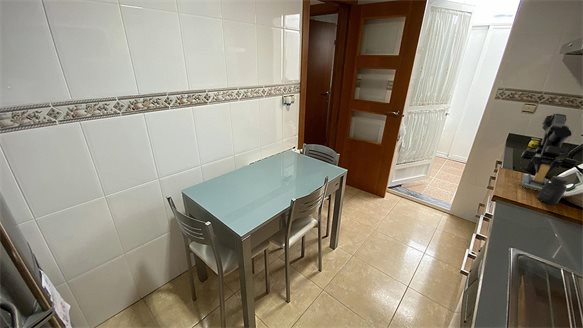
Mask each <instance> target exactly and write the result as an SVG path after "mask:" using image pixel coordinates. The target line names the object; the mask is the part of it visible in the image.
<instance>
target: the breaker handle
mask: <svg viewBox="0 0 583 328" xmlns="http://www.w3.org/2000/svg"><path fill="white" fill-rule="evenodd" d="M549 169H550V165H549V164H546V165H544V164H541V166H540V169H539V172H538V173H535V175H533V176H534V178H531V182H534V183H538V184H541V185H543V179H544V178H546V176H547V175H548V174H547V172H548V170H549ZM546 174H547V175H546Z"/></svg>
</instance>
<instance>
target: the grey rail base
mask: <svg viewBox="0 0 583 328" xmlns="http://www.w3.org/2000/svg"><path fill="white" fill-rule="evenodd" d="M534 176H535V175H532V174H531V173H523V174H522V175H521V179H522V180H521V187H522V186H523V187H522V188H525V187H527V188H526V189H528V188H532V189H536V190H539V191H541V189H542V188H543V186H544V184H545V183H546V182H547V181H550V180H549V179H547V178H546V177H544V179H543V185H541V184H538V183H534V182H531V178H534ZM532 189H531V190H532ZM539 191H538V192H539Z"/></svg>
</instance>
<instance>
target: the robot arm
mask: <svg viewBox="0 0 583 328" xmlns="http://www.w3.org/2000/svg"><path fill="white" fill-rule="evenodd" d="M566 122H567V115H566V114H562V113H553V114H552V115H551V114H550V115H546V117H544V119H543V121H542V123H541V125H542V129H543V130H544V134H543V137H542V139H541V143H540V144H539V146H538V147H537V148H536V149H534V150H530V149H525V150H524V151H523V152H522V155H521V156H520V158H521V159H523V160H527V161H530V162H528V164H527V166H525V167H523V169H525V170H527V171H529V172H531V173H532V174H536V173H538V172H539V169H540V166H541V164H544V165H548V166H550V169H549V170H548V172H547V174H546V175H545V176H547V175H548V174H550V172H551V171H553V170H554V169H555V168H557V169H558V168H562V169H566V170H572V169H573V168H574V167H576V166H577V164H578V162H577V160H576V159H574V158H573V159H572V158H568V157H565V158H564V159H559V156H560V155H566V154H568V151H569V147H567V146H562V145H563V143H564V142H566V140H568V138H569V137H571V136H572V131H571V130H570V127H569V125H566Z"/></svg>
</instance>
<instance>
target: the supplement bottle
mask: <svg viewBox="0 0 583 328" xmlns="http://www.w3.org/2000/svg"><path fill="white" fill-rule="evenodd" d="M568 182H569V180H568V178H565V177H563V176H559V175H552V177H551V178H550V180H549V181H547V182H546V183H545V184H544V186H543V188H542V189H541V191H540V192H539V193H538V195H537V197H538V198H539V199H540V200H542V201H544V202H546V203H545V204H547V203H549V204H548V205H552V204H555V205H557V204H559V202H560V200H561V198H562V197H563V196H564V194H565V192H566V191H567V189H568V187H567V183H568ZM538 198H537V199H538ZM539 199H538V200H539ZM540 200H539V201H540ZM542 201H541V202H542ZM544 202H543V203H544Z"/></svg>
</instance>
